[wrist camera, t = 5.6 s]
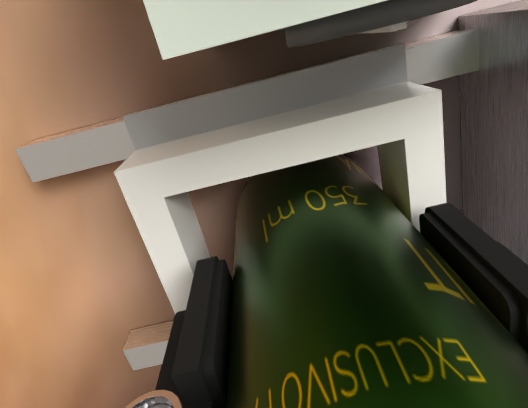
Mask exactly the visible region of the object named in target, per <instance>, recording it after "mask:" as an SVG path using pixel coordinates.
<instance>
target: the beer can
mask: <svg viewBox="0 0 528 408" xmlns="http://www.w3.org/2000/svg"><path fill="white" fill-rule="evenodd" d="M225 408H528V353H527V352H526V351H525V349H524V348H523V347H522V346H521V345H520V344H519V343H518V342H517V341H516V339H515V338H514V337H513V336H512V335H511V334H510V333H509V332H508V330H507V329H506V328H505V327H504V326H503V325H502V324H501V323H500V322H499V320H498V319H497V318H496V317H495V316H494V315H493V314H492V313H491V311H490V310H489V309H488V308H487V307H486V306H485V305H484V304H483V303H482V301H481V300H480V299H479V298H478V297H477V296H476V295H475V294H474V292H473V291H472V290H471V289H470V288H469V287H468V286H467V285H466V284H465V282H464V281H463V280H462V279H461V278H460V277H459V276H458V275H457V273H456V272H455V271H454V270H453V269H452V268H451V267H450V266H449V265H448V263H447V262H446V261H445V260H444V259H443V258H442V257H441V256H440V254H439V253H438V252H437V251H436V250H435V249H434V248H433V247H432V246H431V244H430V243H429V242H428V241H427V240H426V239H425V238H424V237H423V235H422V234H421V233H420V232H419V231H418V230H417V229H416V228H415V227H414V225H413V224H412V223H411V222H410V221H409V220H408V219H407V218H406V216H405V215H404V214H403V213H402V212H401V211H400V210H399V209H398V208H397V206H396V205H395V204H394V203H393V202H392V201H391V200H390V199H389V197H388V196H387V195H386V194H385V193H384V192H383V191H382V190H381V189H380V187H379V186H378V185H377V184H376V183H375V182H374V181H373V180H372V178H371V177H370V176H369V175H368V174H367V173H366V172H365V171H364V170H363V169H362V168H361V167H360V166H359V165H358V164H357V163H356V162H355V161H354V160H352V159H350V158H348V157H346V156H344V155H342V154H340V155H336V156H332V157H328V158H324V159H319V160H315V161H311V162H307V163H303V164H299V165H295V166H291V167H287V168H283V169H279V170H274V171H270V172H266V173H262V174H258V175H254V176H251V177H250V178H249V179H248V181H247V183H246V185H245V187H244V189H243V191H242V193H241V195H240V197H239V201H238V209H237V217H236V231H235V248H234V265H233V282H232V299H231V316H230V333H229V350H228V367H227V384H226V401H225Z"/></svg>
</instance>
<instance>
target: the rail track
mask: <svg viewBox="0 0 528 408" xmlns="http://www.w3.org/2000/svg"><path fill="white" fill-rule="evenodd" d="M405 53H406V66H407V78H408V81H409V82H413V83H417V84H421V85H422V84H426V83H430V82H434V81H438V80H442V79H446V78H450V77H454V76H458V75H459V78H460V119H461V161H462V202H463V215H464V216H466V217H467V218H468V219H469V220H471V221H472V222H473V223H474V224H476V225H477V226H478V227H479V228H480V229H482V230H483V231H484V232H485V233H487V234H488V235H489V236H490V237H492V238H493V239H494V240H495V241H498V242H499V243H501V244H503V245H504V246H505V247H506V248H507V249H509V250H510V251H511V252H512V253H514V254H515V255H516V256H517V257H519V258H520V259H521V260H522V261H524V262H525V263H526V264H527V265H528V0H520V1H516V2H513V3H509V4H505V5H501V6H497V7H493V8H490V9H486V10H482V11H478V12H474V13H471V14H467V15H463V16H459V17H458V30H456V31H452V32H448V33H445V34H441V35H437V36H433V37H429V38H425V39H421V40H418V41H414V42H410V43H406V44H405ZM15 150H16V152H17V154H18V156H19V158H20V160H21V162H22V164H23V165H24V167H25V169H26V171H27V173H28V175H29V177H30V178H31V180H32V182H33V183H34V182H38V181H41V180H45V179H49V178H53V177H57V176H61V175H65V174H69V173H73V172H77V171H81V170H85V169H89V168H93V167H97V166H101V165H105V164H109V163H113V162H117V161H121V160H125V159H127V158H128V157H129V156H130V155H131V154H132V153H133V152H134V151H135V147H134V145H133V142H132V140H131V137H130V135H129V132H128V130H127V127H126V124H125V122H124V119H123V117H121V118H117V119H113V120H109V121H105V122H101V123H98V124H94V125H90V126H86V127H82V128H78V129H74V130H71V131H67V132H63V133H59V134H55V135H51V136H48V137H44V138H40V139H36V140H33V141H31V142H29V143H27V144H25V145H22V146H20V147H18V148H16V149H15ZM172 325H173V321H169V322H165V323H161V324H156V325H152V326H147V327H143V328H138V329H134V330H131V331H130V333H129V336H128V338H127V341H126V343H125V346H124V348H123V352H124V354H125V356H126V358H127V360H128V361H129V363H130V365H131V367H132V369H133V371H134V370H138V369H143V368H147V367H152V366H157V365H161V364H162V363H163V359H164V355H165V351H166V348H167V344H168V340H169V336H170V332H171V328H172Z"/></svg>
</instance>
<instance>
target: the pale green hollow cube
mask: <svg viewBox="0 0 528 408" xmlns="http://www.w3.org/2000/svg"><path fill="white" fill-rule="evenodd" d="M475 1H477V0H143V2H144V5H145V8H146V11H147V14H148V17H149V20H150V23H151V26H152V29H153V32H154V35H155V38H156V41H157V44H158V47H159V50H160V53H161V56H162V59H163V60H165V59H169V58H173V57H177V56H181V55H185V54H189V53H193V52H197V51H201V50H205V49H209V48H213V47H217V46H220V45H224V44H228V43H232V42H235V41H239V40H243V39H247V38H250V37H254V36H258V35H262V34H265V33H269V32H273V31H277V30H280V29H284V32H285V37H286V42H287V47H296V46H302V45H308V44H313V43H317V42H322V41H327V40H331V39H336V38H340V37H345V36H349V35H353V34H362V33H382V32H394V31H398V30H401V29H405V28H407V21H410V20H413V19H417V18H421V17H425V16H428V15H432V14H436V13H439V12H443V11H446V10H450V9H453V8H456V7H460V6H463V5H466V4H469V3H472V2H475Z"/></svg>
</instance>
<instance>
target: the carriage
mask: <svg viewBox="0 0 528 408" xmlns="http://www.w3.org/2000/svg"><path fill="white" fill-rule="evenodd" d="M123 119H124V122H125V124H126V127H127V130H128V132H129V135H130V137H131V140H132V142H133V145H134V147H135V151H134V152H133V153H132V154H131V155H130V156H129V157H128V158H127V159H126V160H125V161H124V162H123V163H122V164H121V165H120V166H119V167H118V168H117V169H116V170H115V171H114V174H115V177H116V179H117V181H118V184H119V186H120V188H121V190H122V193H123V195H124V197H125V200H126V202H127V204H128V207H129V209H130V211H131V214H132V216H133V218H134V220H135V223H136V225H137V227H138V230H139V232H140V234H141V237H142V239H143V241H144V243H145V246H146V248H147V250H148V253H149V255H150V257H151V260H152V262H153V264H154V267H155V269H156V271H157V273H158V276H159V278H160V280H161V283H162V285H163V287H164V290H165V292H166V294H167V296H168V299H169V301H170V303H171V306H172V308H173V310H174V313H175V315H176V313H177V312H179V311H183V310H186V307H187V302H188V298H189V294H190V289H191V285H192V280H193V276H194V271H195V267H196V263H197V261H198V260H202V259H206V258H210V257H211V256H210V253H209V251H208V248H207V245H206V242H205V239H204V236H203V234H202V231H201V228H200V225H199V222H198V220H197V217H196V214H195V211H194V208H193V205H192V203H191V200H190V197H189V194H188V192H189V191H193V190H197V189H201V188H205V187H209V186H213V185H217V184H221V183H225V182H230V181H234V180H238V179H242V178H246V177H250V176H254V175H258V174H262V173H266V172H270V171H274V170H279V169H283V168H287V167H291V166H295V165H299V164H303V163H307V162H311V161H315V160H319V159H324V158H328V157H332V156H336V155H340V154H344V153H348V152H352V151H356V150H360V149H364V148H369V147H373V146H377V147H378V156H379V164H380V172H381V181H382V189H383V192H384V193H385V194H386V195H387V196H388V197H389V199H390V200H391V201H392V202H393V203H394V204H395V205H396V206H397V208H398V209H399V210H400V211H401V212H402V213H403V214H404V215H405V216H406V218H407V219H408V220H409V221H410V222H411V223H412V224H413V225H414V227H415V228H416V229H417V230H418V231H419V232H420V224H419V216H420V214H423V213H425V209H426V207H430V206H434V205H439V204H443V203H446V182H445V159H444V136H443V113H442V90H440V89H436V88H432V87H428V86H425V85H421V84H417V83H413V82H409V81H408V78H407V66H406V53H405V44H396V45H392V46H388V47H384V48H381V49H377V50H373V51H369V52H365V53H361V54H357V55H354V56H350V57H346V58H342V59H338V60H334V61H330V62H327V63H323V64H319V65H315V66H311V67H307V68H304V69H300V70H296V71H292V72H288V73H284V74H280V75H277V76H273V77H269V78H265V79H261V80H257V81H253V82H250V83H246V84H242V85H238V86H234V87H230V88H227V89H223V90H219V91H215V92H211V93H207V94H203V95H200V96H196V97H192V98H188V99H184V100H180V101H176V102H173V103H169V104H165V105H161V106H157V107H153V108H149V109H146V110H142V111H138V112H134V113H130V114H126V115H125V116H123Z"/></svg>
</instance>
